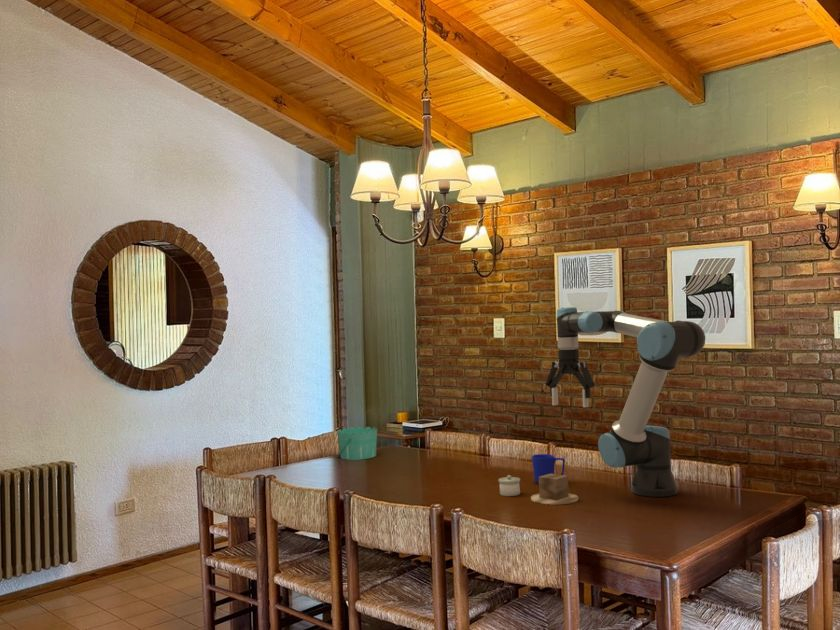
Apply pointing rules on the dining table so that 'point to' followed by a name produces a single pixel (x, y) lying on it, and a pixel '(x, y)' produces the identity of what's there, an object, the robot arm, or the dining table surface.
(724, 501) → the dining table surface
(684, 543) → the dining table surface
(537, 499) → the trivet
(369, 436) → the basket
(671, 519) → the dining table surface
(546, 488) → the block
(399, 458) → the dining table surface
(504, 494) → the sugar bowl
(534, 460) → the mug
